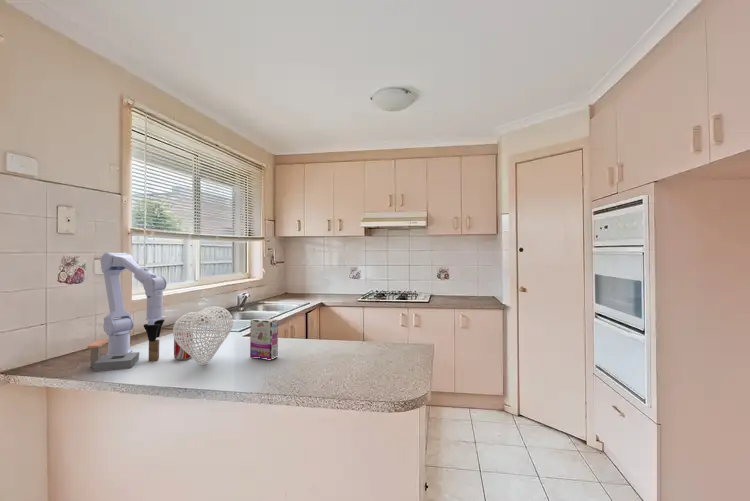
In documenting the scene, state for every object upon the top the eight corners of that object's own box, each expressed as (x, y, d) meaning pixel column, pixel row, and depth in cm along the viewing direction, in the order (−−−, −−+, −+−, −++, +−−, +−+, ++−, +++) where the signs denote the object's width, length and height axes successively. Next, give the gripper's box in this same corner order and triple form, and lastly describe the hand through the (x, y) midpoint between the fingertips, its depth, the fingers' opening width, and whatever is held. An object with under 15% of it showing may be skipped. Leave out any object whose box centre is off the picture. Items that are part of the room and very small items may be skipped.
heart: (203, 354, 162) (204, 303, 162) (238, 355, 161) (239, 304, 161) (163, 375, 134) (164, 314, 134) (204, 377, 133) (205, 315, 133)
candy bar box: (278, 357, 158) (278, 319, 158) (270, 361, 154) (271, 321, 154) (257, 354, 163) (257, 317, 163) (249, 357, 158) (249, 319, 158)
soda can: (184, 361, 151) (185, 332, 151) (169, 360, 153) (170, 331, 153) (196, 356, 158) (196, 328, 158) (181, 355, 160) (182, 327, 160)
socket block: (97, 362, 148) (97, 339, 148) (138, 359, 153) (139, 336, 153) (85, 371, 137) (86, 346, 137) (130, 368, 142) (131, 343, 142)
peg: (150, 359, 154) (150, 340, 154) (159, 358, 155) (159, 339, 155) (148, 361, 151) (148, 341, 151) (157, 360, 152) (157, 341, 152)
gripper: (162, 308, 147) (161, 342, 147) (168, 303, 161) (168, 334, 161) (141, 309, 145) (141, 344, 145) (150, 304, 159) (149, 336, 158)
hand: (154, 339), depth 153 cm, fingers open, 7 cm apart
